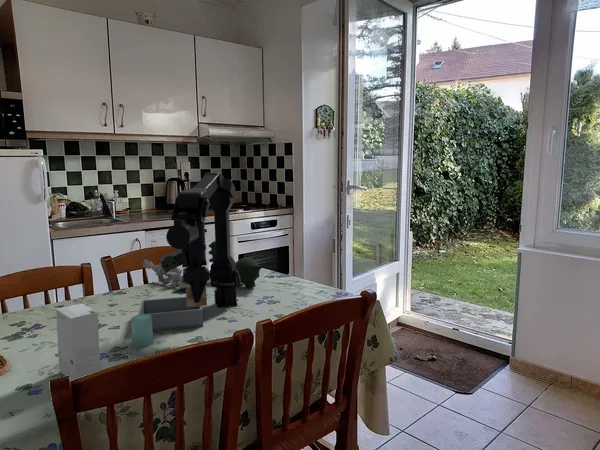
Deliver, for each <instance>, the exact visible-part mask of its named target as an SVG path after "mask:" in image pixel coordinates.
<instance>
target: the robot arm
mask: <svg viewBox="0 0 600 450" xmlns="http://www.w3.org/2000/svg"><path fill="white" fill-rule="evenodd" d="M235 197H236V187H235V185H234V184H233V182H232V181H231V180H230V179H228V178H226V177H224V175H223V174H222V173H220V172H206V173H204V174H203V177H202V178H201V179H200V180H199V181H198V182H197V183H196V184H195V185H194V186H193V187H191V188H188V189H184V190H181V191H179V193H178V194H177V196H176V197H175V200H174V203H173V208H172V213H171V217H170V220H171V221H173V225H172V226H170V227H169V228H168V230H167V232H166V236H165V238H166V241H167V244H168V245H169V246H170V247H171V248H174V249H176V250H177V251H173V252H171V253H168V254H166V255H164V256H161V257H160V258H159V264H161V265H162V268H163V270H164V272H169V271H170V270H171V269H174V268H176V269H177V268H178V267H181V266H182V268H183V269H182V275H183V283H188V284H189V285H190V287H191V290H192V294H193V298H194V302H195V303H199V301H200V299H201V296H202V293H203V291H204V288H205V286H206V287H207V284H208V282H210V287H211V288H215V289H214V291H213V293H214V304H215V305H216V307H217V308H225V307H228V308H229V307H236V306H238V302H237V288H238V287H241V286H242V283H241V280H240V275H239V273H238V270H237V269H236V261H235V260H234V257H232V255H231V233H230V232H231V230H230V210H231V208H232V205H233V204H234V202H235ZM210 208H211V210H212V211H213V218H214V241H215V248H216V258H215V260H214V261H213V262H211V265H210V268H211V270H209V269H208V268H207V267H206V266H208V265H207V264H208V263H207V251H206V250H207V245H206V226H205V225H206V224H205V221H206V218H207V216H208V213H209V209H210Z"/></svg>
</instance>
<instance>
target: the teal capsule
mask: <svg viewBox="0 0 600 450" xmlns="http://www.w3.org/2000/svg"><path fill="white" fill-rule="evenodd" d="M130 325H131V327H130V328H131V341H132V343H131V344H132V347H134V348H139V349H140V348H146V347H149V346H152V345H153V344H154V336H153V335H154V331H152V316H151V315H149V314H140V315H138V314H136V315H133V316H132V317H131V318H130Z"/></svg>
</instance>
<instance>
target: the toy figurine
mask: <svg viewBox="0 0 600 450" xmlns="http://www.w3.org/2000/svg"><path fill="white" fill-rule="evenodd" d="M208 247H209V248H210V249H211V250H209V251H208V255H210V256H211V258H209V259H208V262H209V263H213V261H214V260H215V258H216V248H215V240H213V241H212V242H211V243H210V244H208ZM235 263H236V269H237V270H238V273H239V275H240V280H241V284H244V287H245V289H246V290H249V289H250V290H251V289H253V288H254V287H255V286H256V282H255V281H256V280H257V279H258V278H260V270H261V269H263V266H262V265H259V264H258V262H257V261H256V260H255V259H253V258H251V257H242V258H240V259H237V261H235ZM210 270H211V267H210ZM210 270H209V271H210Z"/></svg>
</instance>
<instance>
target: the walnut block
mask: <svg viewBox="0 0 600 450" xmlns="http://www.w3.org/2000/svg"><path fill="white" fill-rule="evenodd" d="M185 295H186V296H185V297H186V301H187V307H195V306H202V307H203V306H205V307H206V306H207V305H208V302H207V299H208V298H207V296H208V295H207V285H206V286H205V288H204V291H203V293H202V296H201V299H200V301H199V303H195V302H194V298H193V294H192V290H191V287H190V285H189V284H188V283H186V287H185Z"/></svg>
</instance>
